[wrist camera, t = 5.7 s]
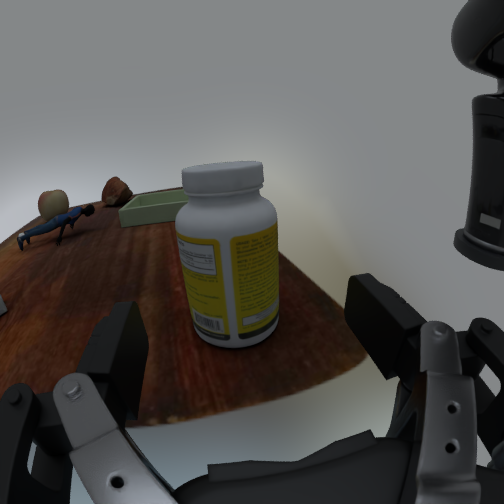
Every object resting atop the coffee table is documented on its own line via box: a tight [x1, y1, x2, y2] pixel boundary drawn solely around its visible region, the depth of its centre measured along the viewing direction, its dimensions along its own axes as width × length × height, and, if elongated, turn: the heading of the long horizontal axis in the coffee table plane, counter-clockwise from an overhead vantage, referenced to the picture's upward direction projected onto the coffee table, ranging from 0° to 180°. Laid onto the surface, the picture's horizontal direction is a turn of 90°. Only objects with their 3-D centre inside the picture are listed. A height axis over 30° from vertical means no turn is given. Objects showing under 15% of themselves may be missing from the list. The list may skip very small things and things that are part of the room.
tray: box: [119, 189, 189, 227], centre depth 50 cm, size 15×14×3 cm
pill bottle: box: [175, 161, 279, 348], centre depth 17 cm, size 6×6×11 cm
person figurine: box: [17, 204, 95, 251], centre depth 40 cm, size 11×4×18 cm
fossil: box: [102, 177, 133, 205], centre depth 64 cm, size 13×8×10 cm
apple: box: [38, 190, 69, 222], centre depth 54 cm, size 9×9×8 cm
